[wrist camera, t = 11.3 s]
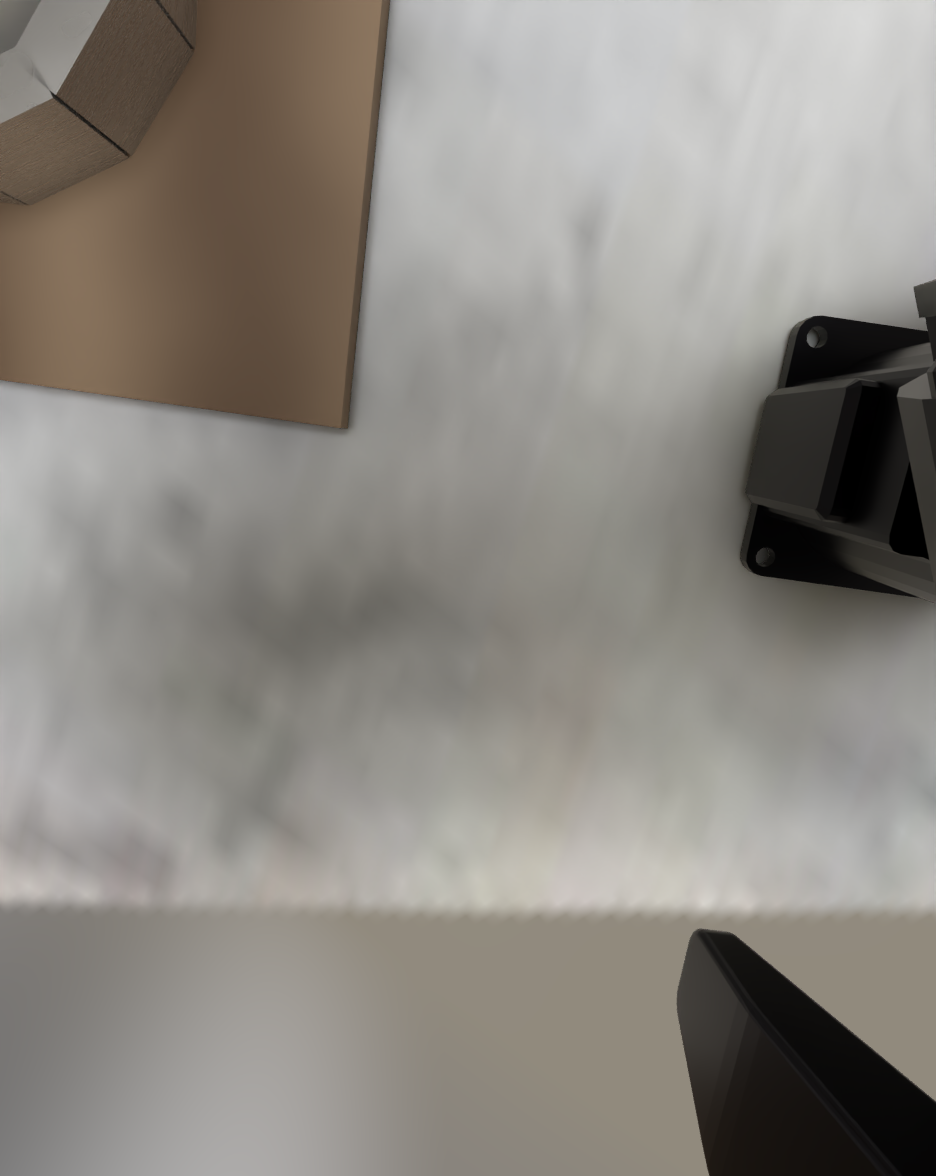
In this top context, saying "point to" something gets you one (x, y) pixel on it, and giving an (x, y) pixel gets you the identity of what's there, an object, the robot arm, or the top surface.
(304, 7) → the base plate
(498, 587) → the top surface
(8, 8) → the can
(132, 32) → the ring collar
